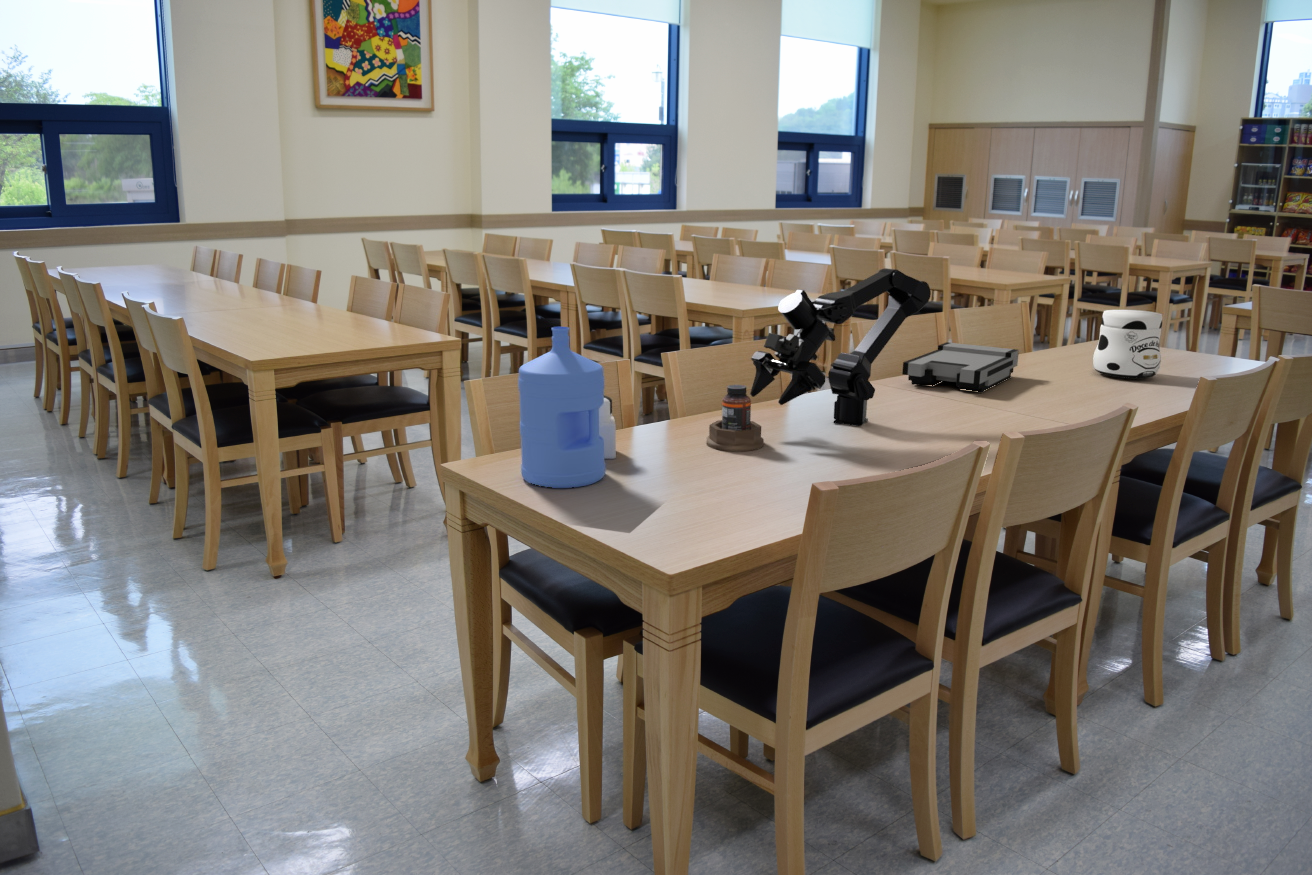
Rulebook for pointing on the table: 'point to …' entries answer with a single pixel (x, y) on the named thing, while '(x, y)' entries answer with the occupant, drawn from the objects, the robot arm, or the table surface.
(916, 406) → the table surface
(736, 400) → the supplement bottle
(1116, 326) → the cow print jar
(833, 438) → the table surface
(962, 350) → the game console
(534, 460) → the water jug
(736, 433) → the ring
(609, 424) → the medicine bottle
